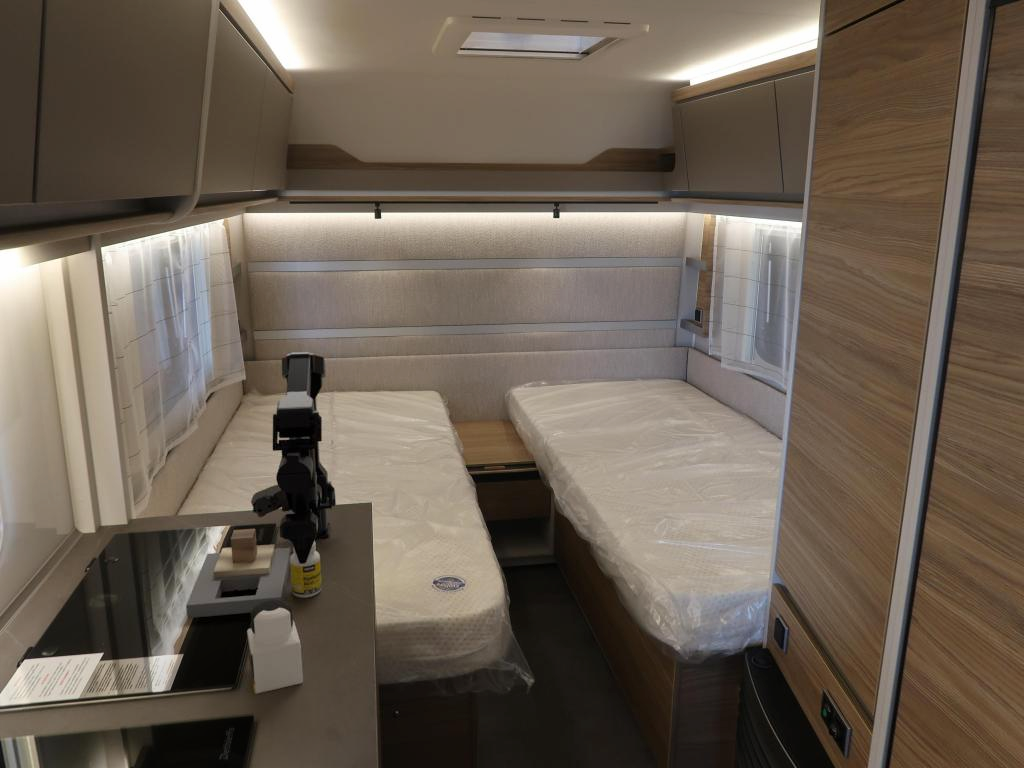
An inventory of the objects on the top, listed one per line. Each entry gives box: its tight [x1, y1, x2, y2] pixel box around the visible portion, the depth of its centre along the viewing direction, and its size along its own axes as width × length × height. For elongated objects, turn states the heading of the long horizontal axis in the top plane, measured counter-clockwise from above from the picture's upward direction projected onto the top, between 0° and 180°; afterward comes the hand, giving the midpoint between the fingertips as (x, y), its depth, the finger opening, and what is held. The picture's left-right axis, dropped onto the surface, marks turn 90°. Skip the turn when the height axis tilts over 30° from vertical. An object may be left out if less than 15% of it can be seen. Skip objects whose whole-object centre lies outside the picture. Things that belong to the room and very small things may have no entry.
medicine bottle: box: [246, 600, 304, 694], centre depth 119 cm, size 7×7×12 cm
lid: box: [213, 528, 276, 578], centre depth 150 cm, size 10×10×6 cm
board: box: [185, 547, 292, 619], centre depth 147 cm, size 20×16×2 cm
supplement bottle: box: [289, 540, 322, 599], centre depth 145 cm, size 5×5×10 cm
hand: (304, 551), depth 144 cm, fingers open, 9 cm apart
